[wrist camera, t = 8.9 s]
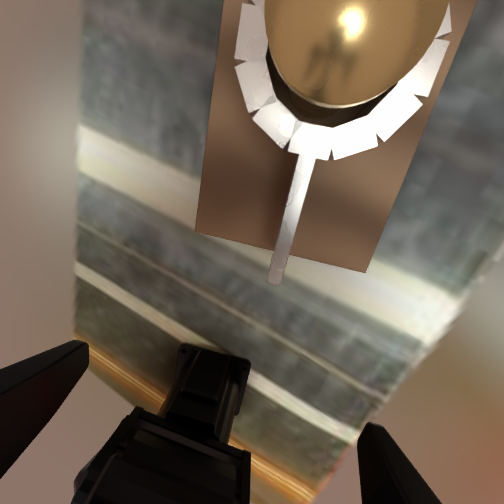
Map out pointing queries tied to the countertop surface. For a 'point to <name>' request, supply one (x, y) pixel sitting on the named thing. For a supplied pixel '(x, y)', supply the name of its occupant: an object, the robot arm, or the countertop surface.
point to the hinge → (314, 136)
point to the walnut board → (323, 174)
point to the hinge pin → (347, 47)
